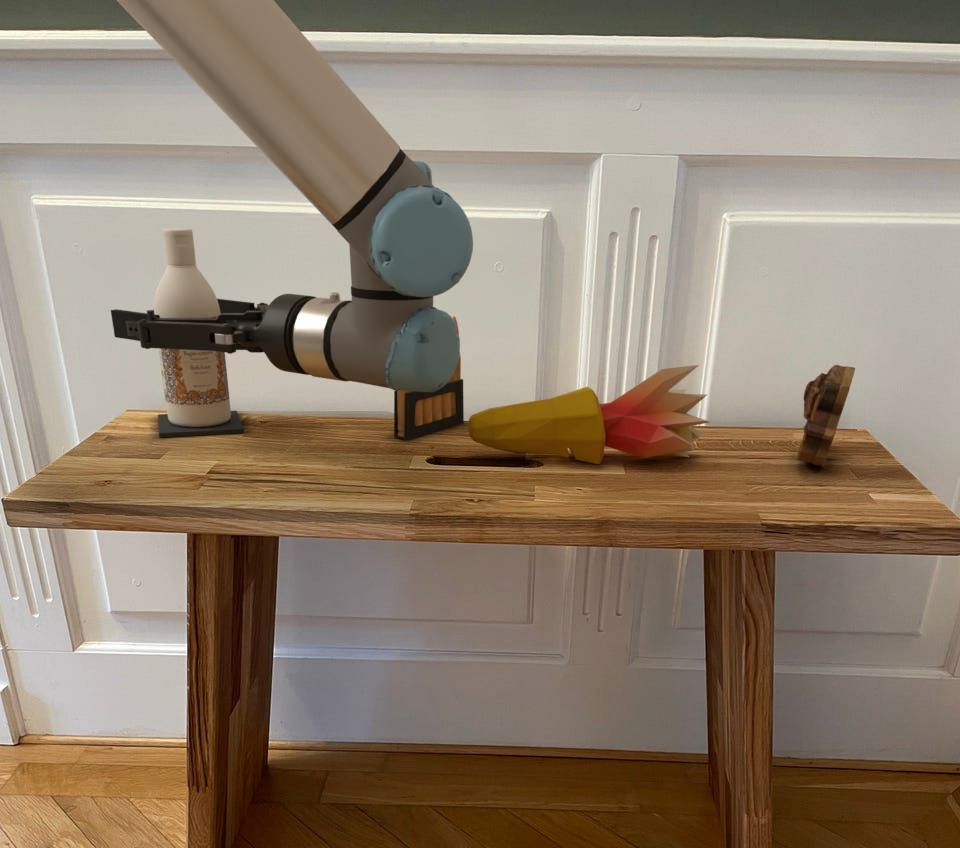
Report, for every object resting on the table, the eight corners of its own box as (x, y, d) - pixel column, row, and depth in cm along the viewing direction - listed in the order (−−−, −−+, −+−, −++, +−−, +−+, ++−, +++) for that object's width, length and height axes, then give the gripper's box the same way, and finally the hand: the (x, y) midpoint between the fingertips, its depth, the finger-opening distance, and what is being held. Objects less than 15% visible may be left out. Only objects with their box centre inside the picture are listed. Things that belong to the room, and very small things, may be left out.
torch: (474, 488, 97) (707, 459, 97) (474, 473, 89) (727, 442, 89) (465, 412, 97) (697, 383, 97) (464, 390, 89) (716, 359, 89)
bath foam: (174, 431, 99) (148, 230, 90) (163, 417, 105) (137, 227, 96) (238, 425, 102) (218, 230, 93) (223, 412, 108) (204, 227, 99)
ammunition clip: (406, 440, 100) (404, 326, 94) (393, 437, 101) (391, 324, 95) (464, 422, 108) (465, 316, 102) (451, 420, 109) (452, 314, 103)
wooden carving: (792, 441, 103) (809, 350, 99) (834, 445, 102) (853, 353, 98) (790, 481, 89) (809, 377, 85) (839, 486, 88) (861, 381, 84)
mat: (159, 437, 99) (158, 433, 98) (158, 418, 106) (157, 414, 106) (244, 432, 101) (243, 428, 101) (237, 414, 109) (236, 410, 109)
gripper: (388, 286, 98) (244, 272, 108) (217, 308, 79) (61, 289, 89) (390, 358, 101) (250, 338, 111) (226, 396, 82) (74, 368, 92)
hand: (165, 316), depth 100 cm, fingers open, 13 cm apart
